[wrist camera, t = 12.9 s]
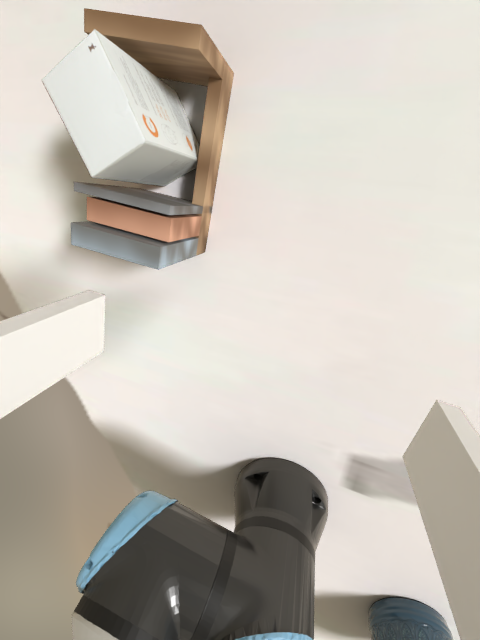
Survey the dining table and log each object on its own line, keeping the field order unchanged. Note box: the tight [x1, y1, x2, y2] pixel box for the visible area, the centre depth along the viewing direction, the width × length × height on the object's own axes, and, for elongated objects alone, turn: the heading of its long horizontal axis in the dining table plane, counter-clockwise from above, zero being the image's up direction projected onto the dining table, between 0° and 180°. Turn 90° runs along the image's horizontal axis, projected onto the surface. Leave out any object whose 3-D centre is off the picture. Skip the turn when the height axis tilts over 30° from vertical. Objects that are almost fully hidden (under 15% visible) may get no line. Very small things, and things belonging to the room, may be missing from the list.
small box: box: [42, 29, 200, 186], centre depth 29 cm, size 8×6×13 cm
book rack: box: [71, 8, 234, 270], centre depth 30 cm, size 19×10×12 cm, turn 168°
